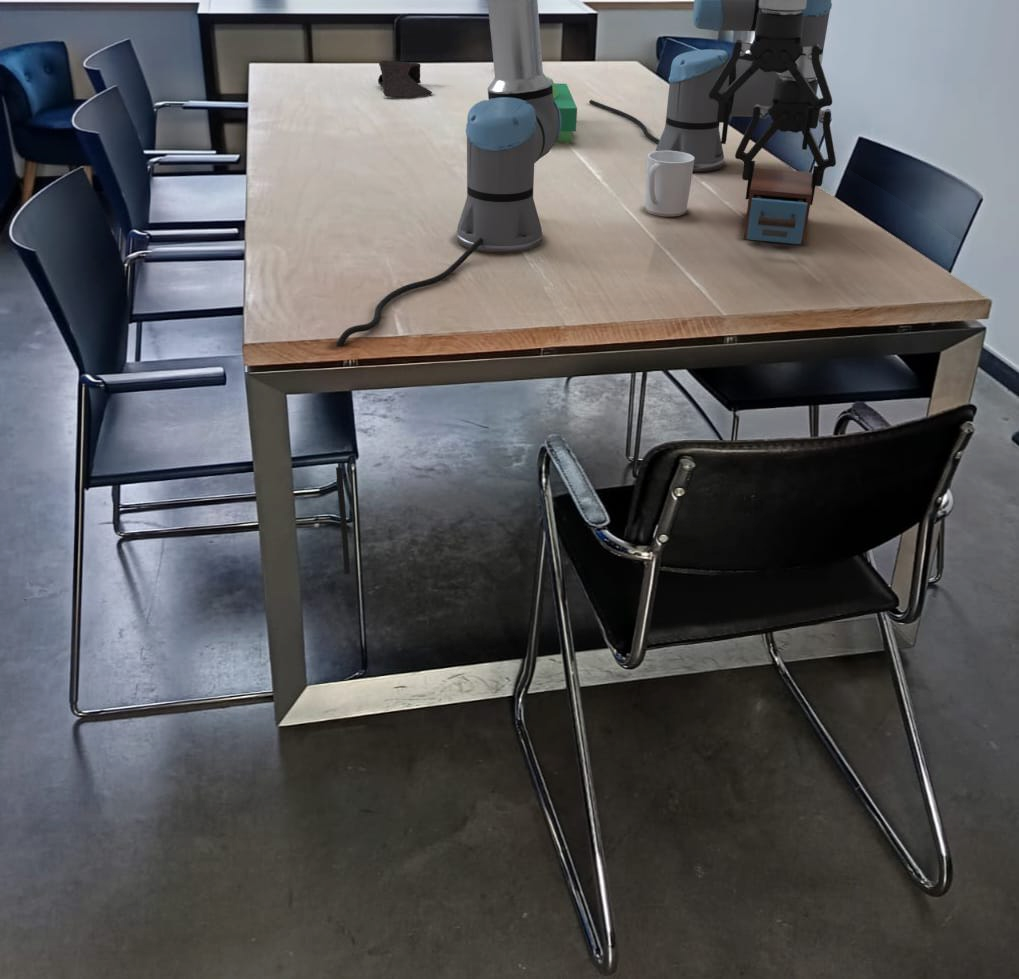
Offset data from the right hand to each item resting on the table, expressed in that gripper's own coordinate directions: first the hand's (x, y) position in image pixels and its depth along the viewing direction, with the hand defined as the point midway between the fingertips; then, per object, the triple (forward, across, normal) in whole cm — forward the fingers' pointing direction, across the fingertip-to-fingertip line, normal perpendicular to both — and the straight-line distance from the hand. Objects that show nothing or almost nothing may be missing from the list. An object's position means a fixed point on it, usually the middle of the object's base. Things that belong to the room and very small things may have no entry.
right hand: (778, 200), depth 206 cm
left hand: (-13, +4, +15) cm, 20 cm away
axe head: (+4, +103, -87) cm, 135 cm away
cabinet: (+4, 0, +4) cm, 6 cm away
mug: (+4, +22, 0) cm, 22 cm away
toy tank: (+4, +60, -58) cm, 84 cm away
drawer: (+3, 0, +10) cm, 11 cm away
